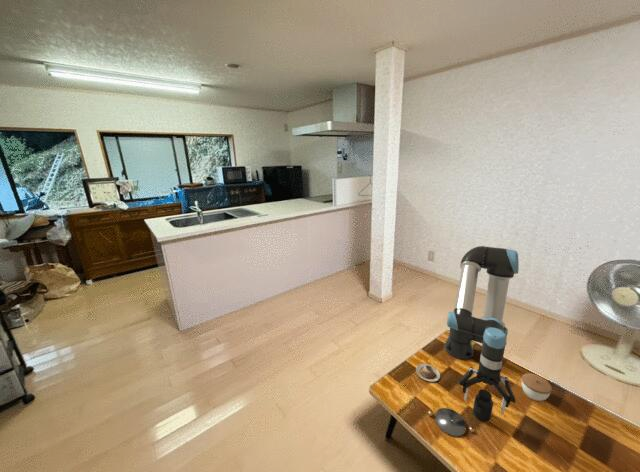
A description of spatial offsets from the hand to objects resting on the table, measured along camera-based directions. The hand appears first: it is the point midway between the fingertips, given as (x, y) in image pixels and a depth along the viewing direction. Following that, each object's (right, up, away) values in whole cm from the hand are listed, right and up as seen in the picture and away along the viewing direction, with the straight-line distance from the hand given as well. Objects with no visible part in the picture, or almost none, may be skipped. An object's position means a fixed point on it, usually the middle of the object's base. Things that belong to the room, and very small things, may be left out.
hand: (483, 404), depth 112 cm
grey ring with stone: (-14, 0, +25) cm, 29 cm away
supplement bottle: (0, -6, +2) cm, 6 cm away
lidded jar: (+30, -2, +10) cm, 32 cm away
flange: (-15, -7, -1) cm, 17 cm away
